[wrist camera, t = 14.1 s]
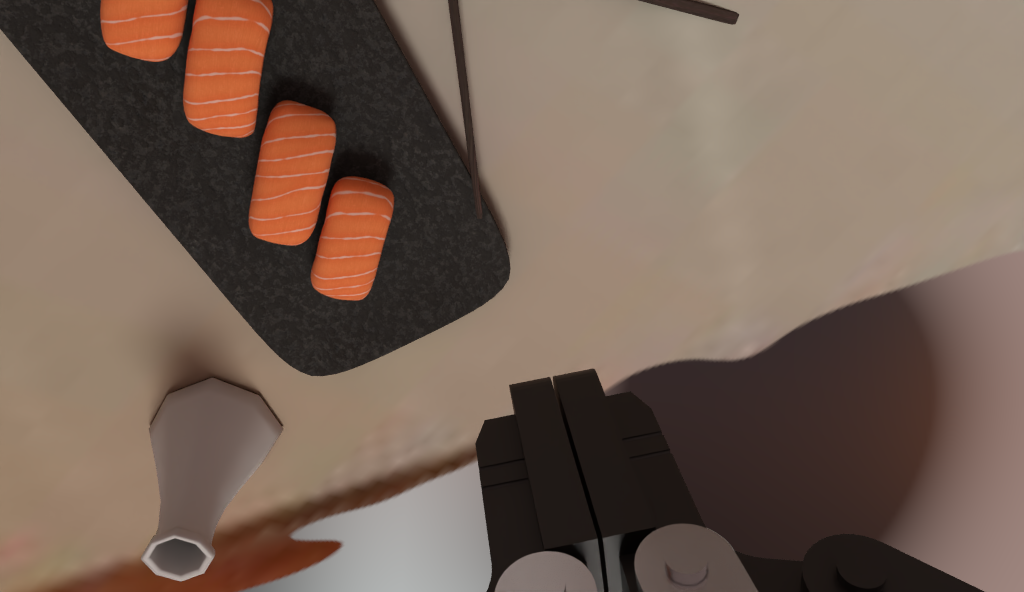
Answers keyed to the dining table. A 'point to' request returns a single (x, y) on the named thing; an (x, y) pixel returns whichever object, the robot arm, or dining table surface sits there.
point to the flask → (202, 468)
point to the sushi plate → (286, 159)
